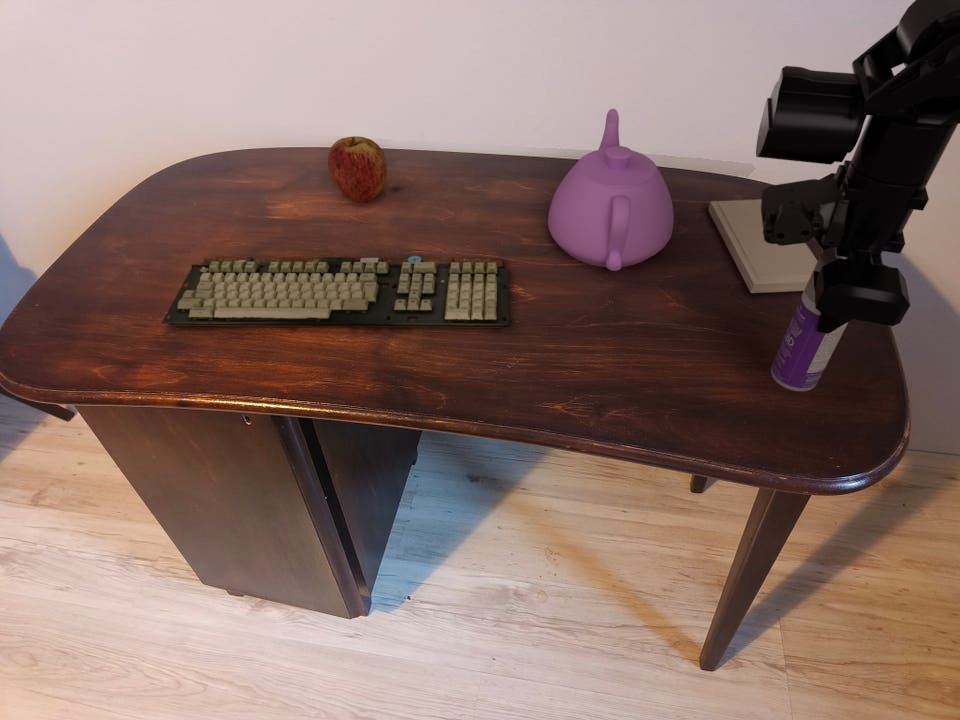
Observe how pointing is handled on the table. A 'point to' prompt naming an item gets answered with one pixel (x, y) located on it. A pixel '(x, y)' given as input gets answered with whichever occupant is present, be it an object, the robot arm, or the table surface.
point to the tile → (761, 249)
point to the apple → (357, 167)
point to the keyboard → (343, 293)
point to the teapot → (612, 206)
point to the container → (806, 340)
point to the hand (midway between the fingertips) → (821, 314)
